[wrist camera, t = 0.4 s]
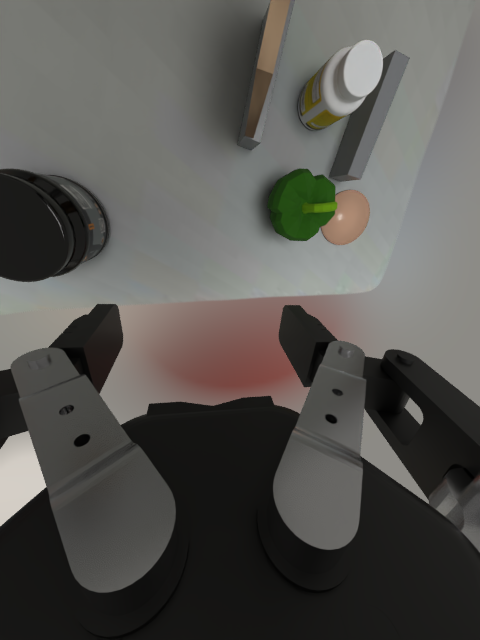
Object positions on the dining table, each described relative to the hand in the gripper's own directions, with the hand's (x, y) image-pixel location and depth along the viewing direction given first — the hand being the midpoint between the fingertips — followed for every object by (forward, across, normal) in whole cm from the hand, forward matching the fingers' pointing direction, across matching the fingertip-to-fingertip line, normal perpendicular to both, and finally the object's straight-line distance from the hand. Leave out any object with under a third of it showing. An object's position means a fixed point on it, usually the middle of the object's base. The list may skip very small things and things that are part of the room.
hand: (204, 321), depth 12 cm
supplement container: (+28, +17, -1) cm, 33 cm away
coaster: (+28, -23, -4) cm, 36 cm away
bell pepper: (+28, -13, -5) cm, 31 cm away
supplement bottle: (+28, -15, -17) cm, 36 cm away
